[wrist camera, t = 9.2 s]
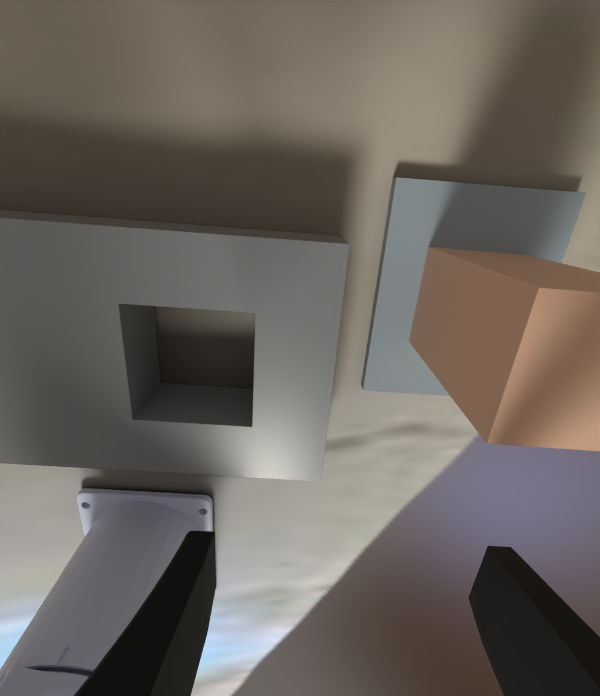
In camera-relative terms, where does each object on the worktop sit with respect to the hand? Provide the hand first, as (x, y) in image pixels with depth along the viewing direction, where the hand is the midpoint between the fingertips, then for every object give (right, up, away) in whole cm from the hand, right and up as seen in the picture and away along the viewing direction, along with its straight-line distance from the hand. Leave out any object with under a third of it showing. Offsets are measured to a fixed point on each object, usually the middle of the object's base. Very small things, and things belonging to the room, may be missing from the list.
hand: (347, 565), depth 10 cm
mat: (+6, +8, +8) cm, 13 cm away
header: (-8, +6, +9) cm, 13 cm away
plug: (+7, +8, +7) cm, 13 cm away
